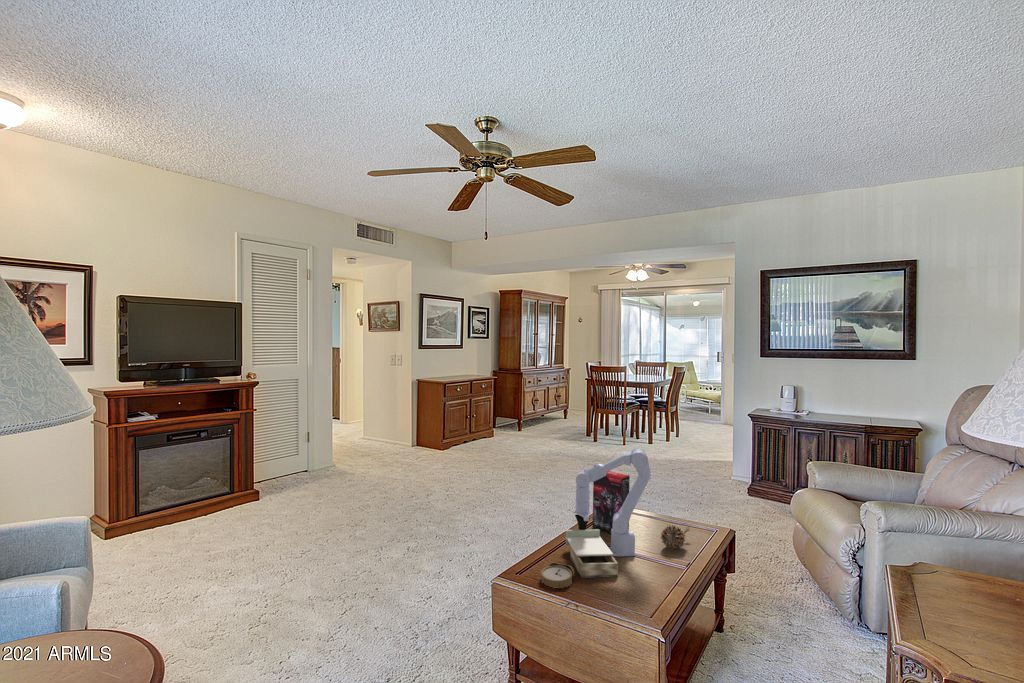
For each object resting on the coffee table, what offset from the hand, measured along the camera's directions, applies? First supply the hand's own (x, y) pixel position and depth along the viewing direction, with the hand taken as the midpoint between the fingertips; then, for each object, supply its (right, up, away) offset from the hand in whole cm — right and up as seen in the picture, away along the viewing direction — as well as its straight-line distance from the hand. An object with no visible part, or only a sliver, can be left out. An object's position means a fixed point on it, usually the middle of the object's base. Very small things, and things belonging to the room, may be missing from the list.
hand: (582, 532), depth 217 cm
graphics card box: (+16, -8, +22) cm, 29 cm away
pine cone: (+42, -8, +6) cm, 43 cm away
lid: (+1, -4, -11) cm, 12 cm away
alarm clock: (-13, -7, -30) cm, 33 cm away
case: (+2, -7, -18) cm, 19 cm away
